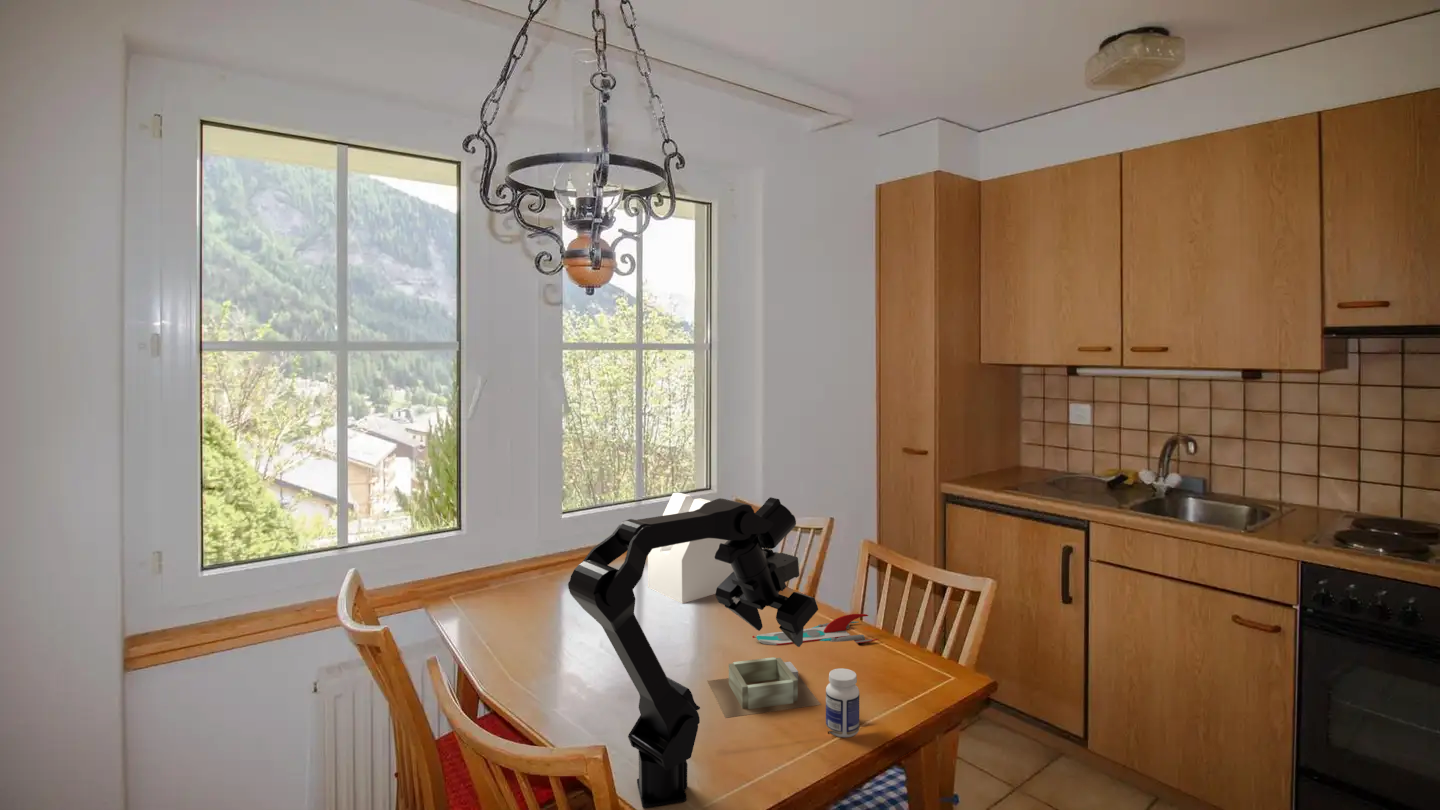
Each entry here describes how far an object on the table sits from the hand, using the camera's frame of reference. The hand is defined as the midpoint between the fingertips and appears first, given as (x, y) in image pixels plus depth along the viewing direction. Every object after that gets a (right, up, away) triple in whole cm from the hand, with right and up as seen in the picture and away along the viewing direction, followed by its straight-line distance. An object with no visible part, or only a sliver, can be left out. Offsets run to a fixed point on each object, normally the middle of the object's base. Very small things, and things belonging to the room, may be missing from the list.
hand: (779, 636), depth 121 cm
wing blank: (+3, -14, +17) cm, 22 cm away
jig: (-2, -15, +12) cm, 19 cm away
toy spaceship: (+11, -14, +37) cm, 41 cm away
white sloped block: (-17, -10, +72) cm, 74 cm away
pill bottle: (+11, -16, +1) cm, 20 cm away
